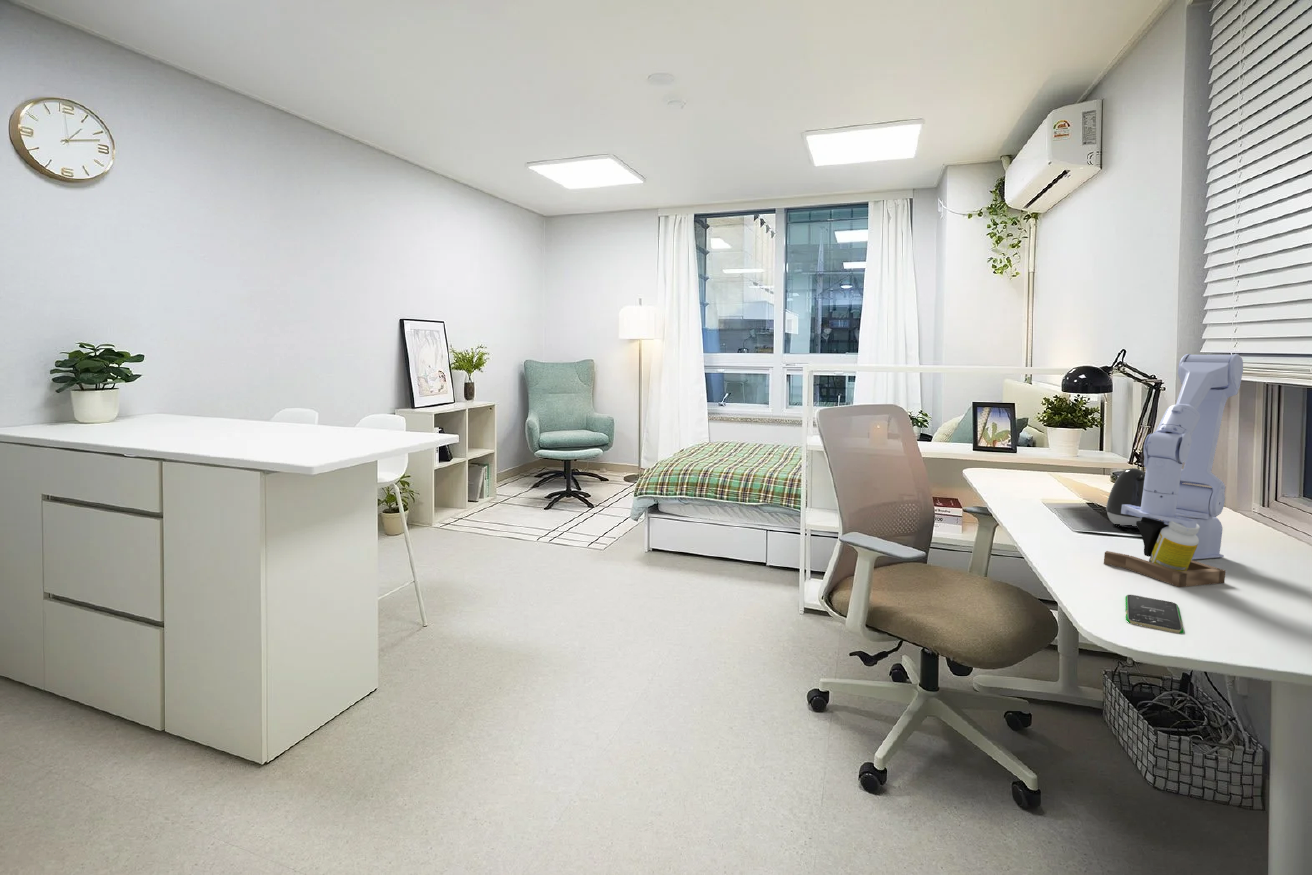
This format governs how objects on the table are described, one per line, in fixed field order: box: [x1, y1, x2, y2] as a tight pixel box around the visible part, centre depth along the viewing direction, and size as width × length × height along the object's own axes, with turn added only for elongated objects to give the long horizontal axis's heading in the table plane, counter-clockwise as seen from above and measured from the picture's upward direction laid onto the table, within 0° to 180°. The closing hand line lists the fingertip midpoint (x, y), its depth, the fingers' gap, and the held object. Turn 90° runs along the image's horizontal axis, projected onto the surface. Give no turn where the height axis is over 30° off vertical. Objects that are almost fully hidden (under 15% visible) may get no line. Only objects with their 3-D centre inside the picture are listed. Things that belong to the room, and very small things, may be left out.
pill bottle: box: [1148, 517, 1200, 571], centre depth 132 cm, size 6×6×11 cm
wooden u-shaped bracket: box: [1103, 550, 1227, 588], centre depth 135 cm, size 15×15×2 cm
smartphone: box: [1125, 594, 1185, 634], centre depth 113 cm, size 8×1×15 cm
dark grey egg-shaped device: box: [1105, 467, 1145, 526], centre depth 169 cm, size 10×10×15 cm
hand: (1151, 556), depth 136 cm, fingers closed, pressing on pill bottle
